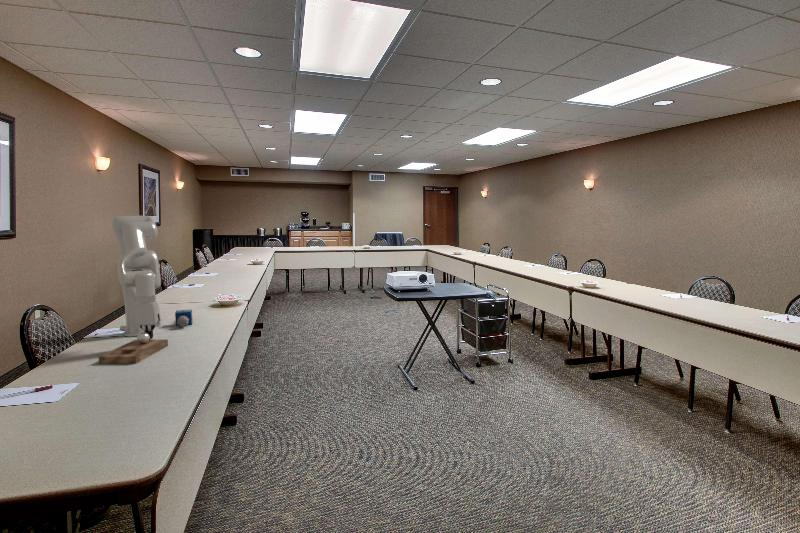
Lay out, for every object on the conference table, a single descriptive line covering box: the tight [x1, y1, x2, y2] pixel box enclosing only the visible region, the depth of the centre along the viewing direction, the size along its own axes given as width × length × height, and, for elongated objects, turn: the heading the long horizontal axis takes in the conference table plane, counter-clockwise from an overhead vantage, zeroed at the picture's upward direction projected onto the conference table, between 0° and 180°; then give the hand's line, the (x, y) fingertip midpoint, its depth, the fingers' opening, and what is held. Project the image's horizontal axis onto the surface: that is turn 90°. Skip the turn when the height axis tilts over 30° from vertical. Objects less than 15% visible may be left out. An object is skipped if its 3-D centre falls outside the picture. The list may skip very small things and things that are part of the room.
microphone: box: [174, 309, 193, 328], centre depth 237 cm, size 8×8×25 cm
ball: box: [136, 332, 151, 344], centre depth 190 cm, size 5×5×5 cm
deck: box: [98, 339, 169, 365], centre depth 184 cm, size 15×24×3 cm, turn 0°
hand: (149, 339), depth 194 cm, fingers closed
